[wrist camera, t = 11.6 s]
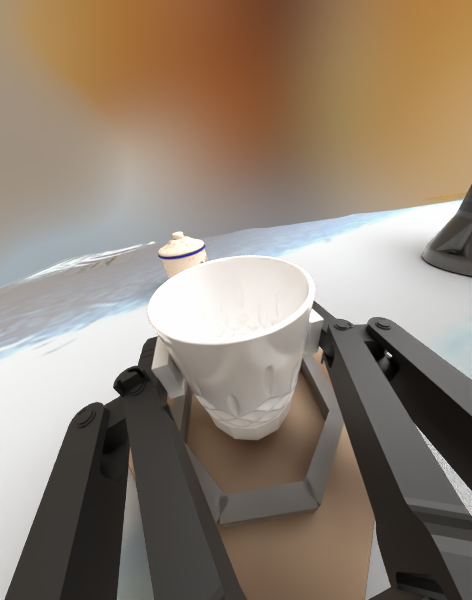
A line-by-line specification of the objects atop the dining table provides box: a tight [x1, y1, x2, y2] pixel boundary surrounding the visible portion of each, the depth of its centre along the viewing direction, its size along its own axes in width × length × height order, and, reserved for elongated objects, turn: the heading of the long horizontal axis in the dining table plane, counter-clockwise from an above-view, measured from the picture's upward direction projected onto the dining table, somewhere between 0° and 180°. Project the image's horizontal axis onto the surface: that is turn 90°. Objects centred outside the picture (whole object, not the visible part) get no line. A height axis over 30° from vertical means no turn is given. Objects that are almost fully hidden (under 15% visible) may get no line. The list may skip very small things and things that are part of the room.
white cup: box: [147, 256, 315, 440], centre depth 11 cm, size 8×8×10 cm
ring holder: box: [129, 349, 375, 600], centre depth 15 cm, size 18×18×3 cm
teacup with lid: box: [158, 232, 208, 279], centre depth 36 cm, size 12×9×12 cm
